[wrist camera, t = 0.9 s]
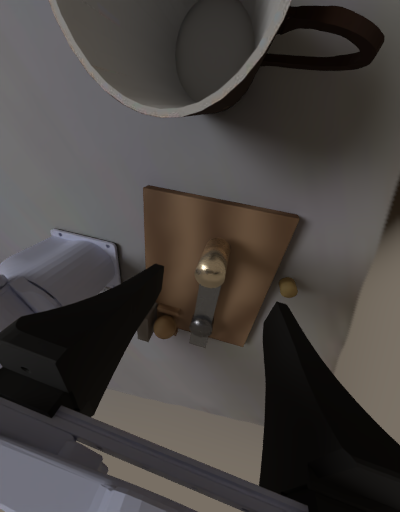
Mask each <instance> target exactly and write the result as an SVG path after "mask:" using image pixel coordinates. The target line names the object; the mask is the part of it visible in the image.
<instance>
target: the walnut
mask: <svg viewBox="0 0 400 512" xmlns="http://www.w3.org/2000/svg"><path fill="white" fill-rule="evenodd" d="M153 329H154V333H155V335H156V336H157V337H159V338H161V339H168V338H170V337H171V336H173V334H174V333H175V331H176V322H175V320H174V318H173V317H171V316H169V315H162V316H160V317H158V318H157V319H156V321H155V323H154V326H153Z"/></svg>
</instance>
